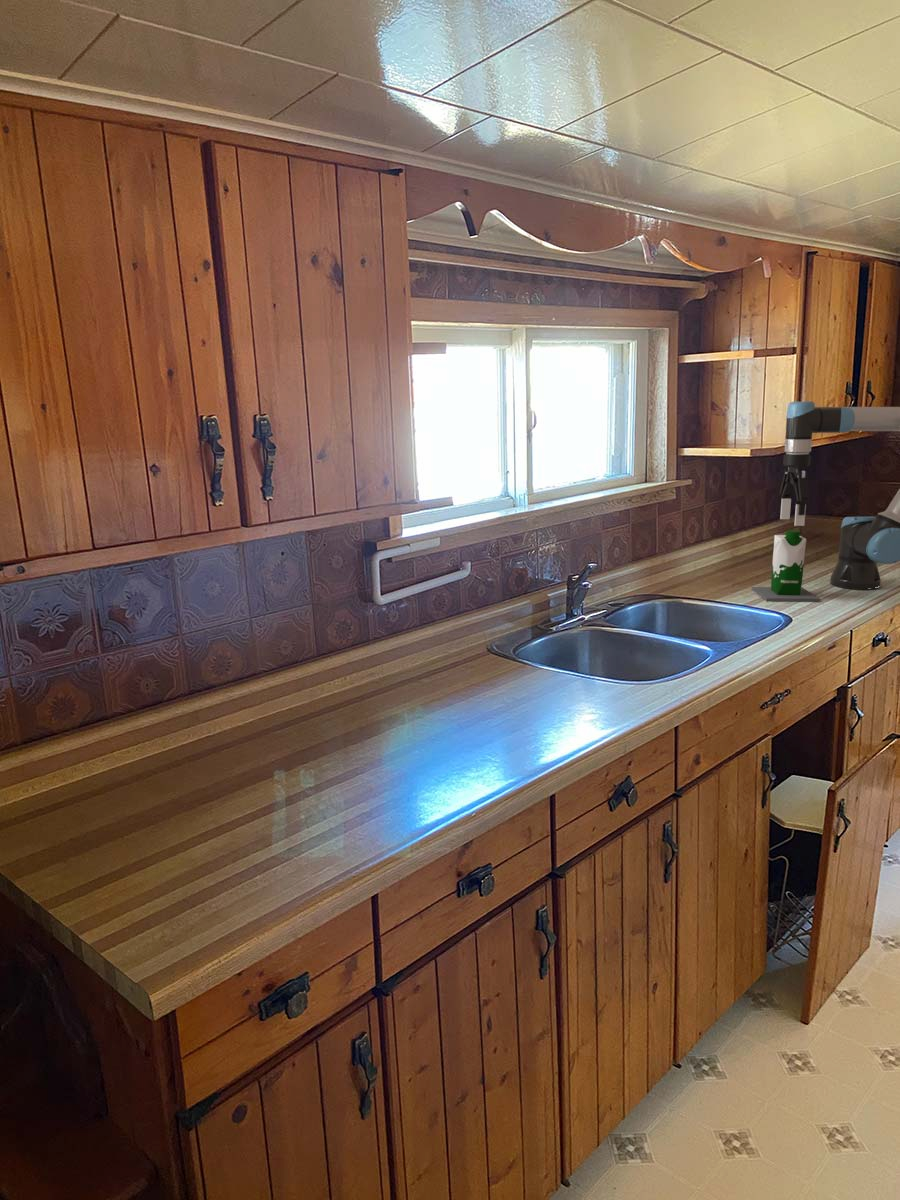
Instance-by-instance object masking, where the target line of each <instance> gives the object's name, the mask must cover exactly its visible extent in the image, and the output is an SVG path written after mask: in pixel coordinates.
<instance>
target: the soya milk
mask: <svg viewBox="0 0 900 1200" xmlns="http://www.w3.org/2000/svg"><path fill="white" fill-rule="evenodd" d="M800 534H801V531H799V530H791V529H790V530H789V529H788V530H785V534H774V540H773V552H772V565H771V582H770V583H771V584H770V587H771V590H772V591H773V592H774V593H776V594H777V595H800V592H801V587H802V584H803V577H804V576H803V575H804V566H805V555H806V554H805V553H806V546H807V545H806V544H807V538H806V537H803V535H800Z"/></svg>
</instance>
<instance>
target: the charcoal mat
mask: <svg viewBox="0 0 900 1200" xmlns="http://www.w3.org/2000/svg"><path fill="white" fill-rule="evenodd" d="M751 591H753V592H754V593H755V592H756V593H757V594H756V593H755V594H756V595H758V596H759V597H760V596H761V597H762V598H761V597H760V598H761V599H763V600H764V601H765V600H766V601H765V602H768V601H771V602H772V603H773V602H779V603H780V602H781V603H782V602H784V603H785V602H789V603H794V602H795V603H796V602H800V603H803V602H804V603H805V602H806V603H807V602H809V603H819V602H820V600H821V599H820V598H819V597H818V596H816V595H815V594H813V593H812V592H810V591H808V590H807V589H805V588H804V587H803V586H801V592H800V595H777V594H776V593H774V592H773V591H772V590H771V586H751ZM771 602H770V603H771Z"/></svg>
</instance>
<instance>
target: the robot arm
mask: <svg viewBox="0 0 900 1200" xmlns="http://www.w3.org/2000/svg"><path fill="white" fill-rule="evenodd" d="M787 406H788V407H787V411H786V417H785V418H786V423H785V438H784V442H783V446H784V452H785V453H784V454H783V460H782V461H783V463H782V464H783V466H784V473H783V478H782V481H781V485H780V490H779V496H780V497H781V504H780V517H779V520H790V519H791V517H790V516H791V508H792V507H791V504H792V498H793V495H792V493H793V490H794V491H795V497H796V501H795V503H794V504H795V511H794V512H795V513H794V524H793V525H794V527H798V526H799V527H800V526H801V527H804V526H805V521H806V512H807V511H806V510H807V504H810V492H809V480H808V478H809V477H808V476H809V472H808V470H804V468H806V467H810V465H811V454H810V453H811V452H812V445H813V444H812V443H813V442H812V441H813V434H819V433H820V434H822V433H823V434H829V433H831V434H832V433H833V434H834V433H835V434H836V433H838V434H841V433H848V432H900V406H815V402H814V401H809V400H808V401H791V402H789V403H788V405H787ZM839 537H840V538H839V549H838V559H837V563H836V565H835V567H834V569H833V571H832V573H831V575H830V582H829V584H830V585H832V586H833V587H834V586H835V587H838V588H842V589H843V588H844V589H849V588H850V590H862V589H868V588H875V587H878V586H880V587H881V576H880V571H879V567H878V564H883V565H892V564H897V563H898V562H900V488H898V490H897V492H896V494H895V495H894V497H893V498H892V500H891V501H890V503H889V505H888V507H887V508H886V509H885V510H884V511H881V512H878V513H877V514H876V516H846V517H844V518H843V520H842V522H841V526H840V536H839ZM868 590H869V589H868Z"/></svg>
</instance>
